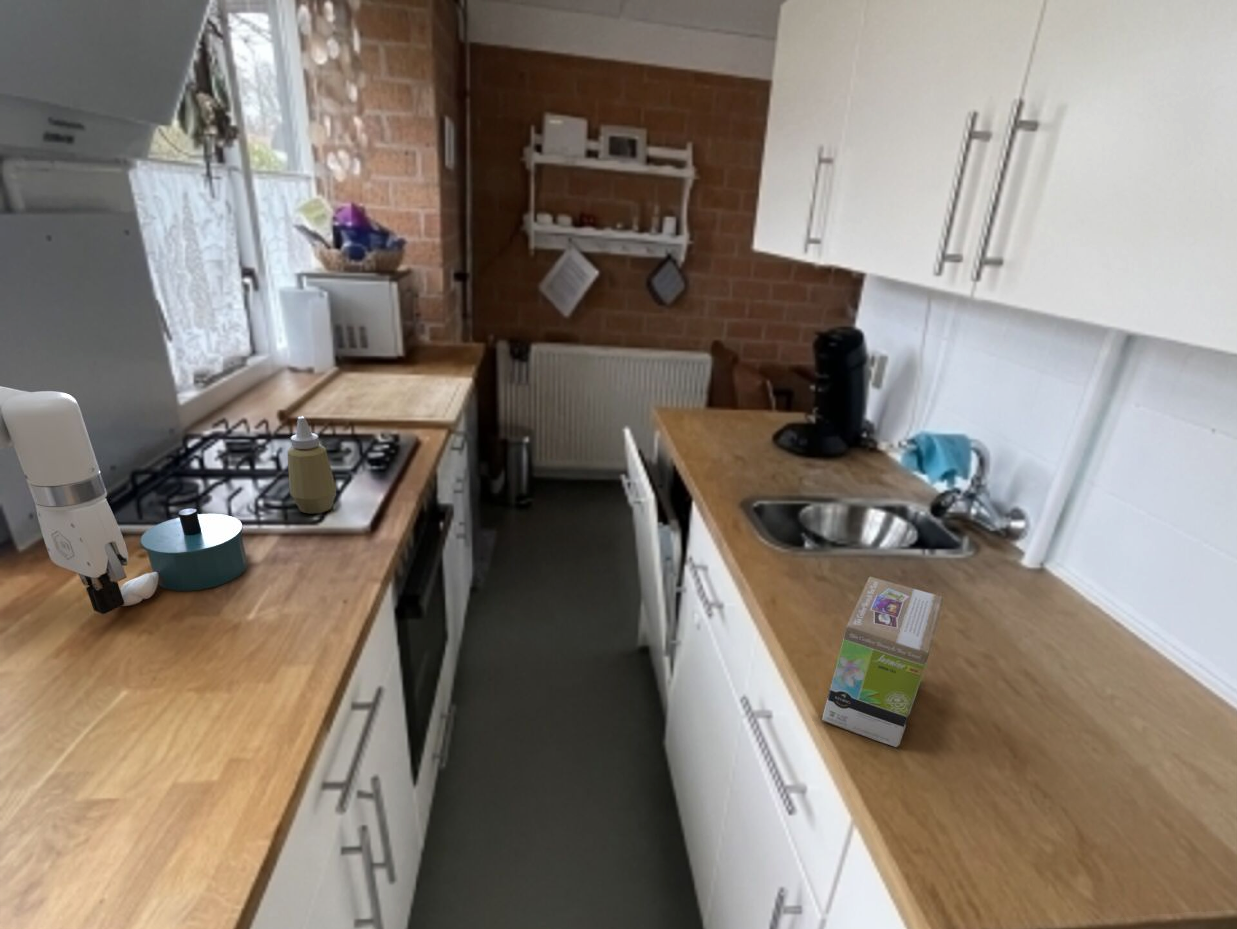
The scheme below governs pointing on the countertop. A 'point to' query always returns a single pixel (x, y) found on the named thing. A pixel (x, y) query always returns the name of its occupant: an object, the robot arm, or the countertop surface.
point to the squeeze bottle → (310, 471)
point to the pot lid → (191, 533)
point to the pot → (200, 567)
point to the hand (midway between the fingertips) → (109, 607)
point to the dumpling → (139, 588)
